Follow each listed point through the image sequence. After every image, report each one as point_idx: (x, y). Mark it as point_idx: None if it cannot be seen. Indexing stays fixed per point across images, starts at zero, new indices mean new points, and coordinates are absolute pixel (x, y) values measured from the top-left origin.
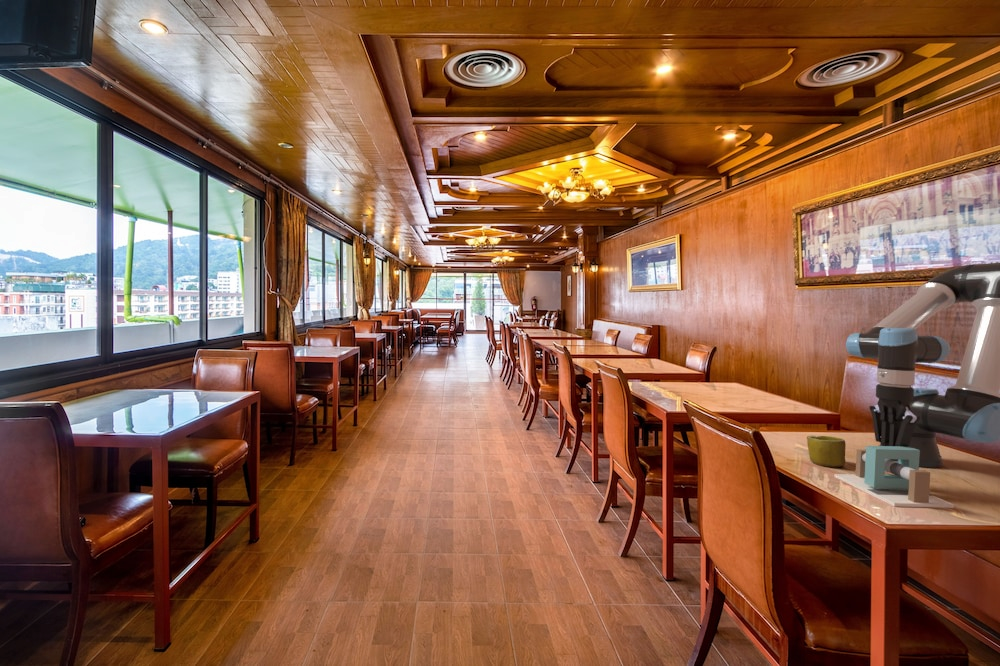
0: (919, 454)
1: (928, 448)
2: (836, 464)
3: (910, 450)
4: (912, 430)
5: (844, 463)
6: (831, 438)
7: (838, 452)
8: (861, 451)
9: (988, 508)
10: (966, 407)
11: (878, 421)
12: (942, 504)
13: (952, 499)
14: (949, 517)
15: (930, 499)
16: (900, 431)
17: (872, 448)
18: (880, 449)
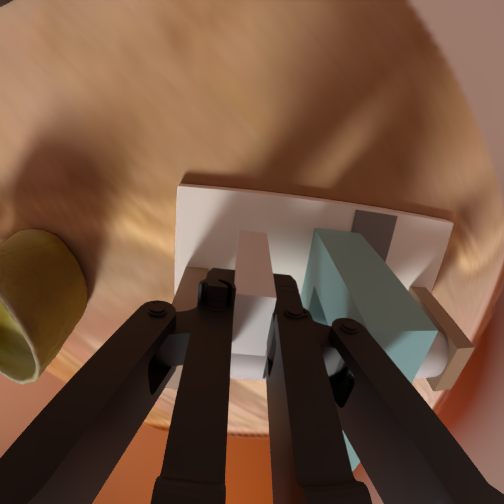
0: (425, 314)
1: None
2: (85, 295)
3: (414, 374)
4: (445, 441)
5: (71, 260)
6: None
7: (60, 316)
8: None
9: (466, 109)
10: None
11: (103, 472)
12: (442, 257)
13: (404, 139)
14: (467, 294)
15: (413, 257)
16: (376, 469)
17: None
18: (355, 466)
